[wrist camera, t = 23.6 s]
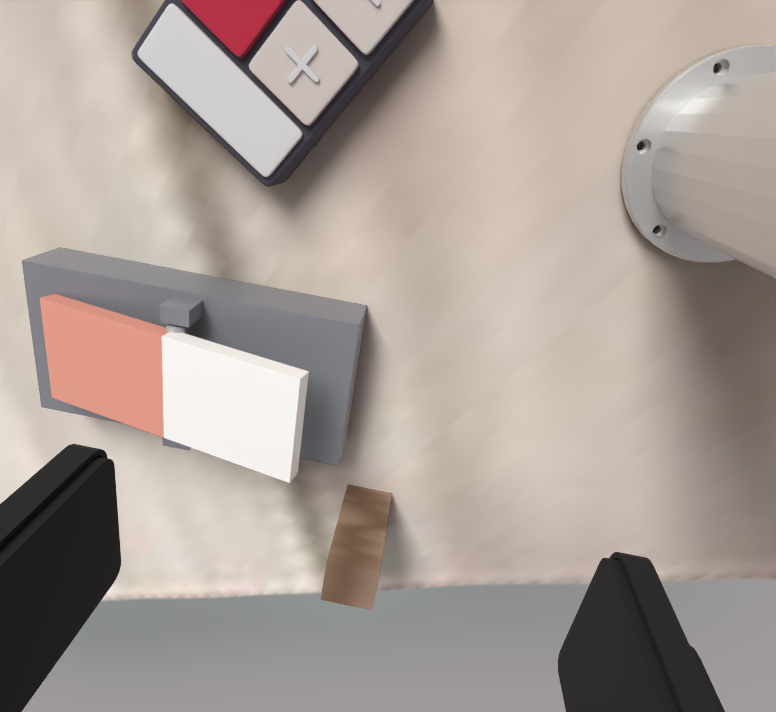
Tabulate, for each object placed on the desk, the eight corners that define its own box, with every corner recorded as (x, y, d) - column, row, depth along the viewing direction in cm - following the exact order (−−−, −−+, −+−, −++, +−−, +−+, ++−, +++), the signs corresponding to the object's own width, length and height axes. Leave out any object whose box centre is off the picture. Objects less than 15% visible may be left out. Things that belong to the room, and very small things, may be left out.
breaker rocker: (314, 363, 34) (300, 376, 32) (302, 469, 38) (289, 485, 36) (63, 288, 39) (39, 295, 37) (73, 388, 42) (52, 399, 40)
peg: (392, 493, 47) (380, 572, 39) (384, 527, 49) (372, 610, 41) (347, 484, 47) (326, 561, 39) (342, 518, 49) (320, 599, 41)
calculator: (437, -17, 29) (265, 191, 33) (436, 2, 33) (282, 185, 37) (282, -198, 26) (120, 53, 31) (301, -154, 30) (155, 63, 35)
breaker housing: (367, 305, 40) (353, 336, 35) (346, 437, 45) (332, 483, 40) (59, 247, 41) (-3, 268, 35) (73, 384, 46) (21, 421, 40)
